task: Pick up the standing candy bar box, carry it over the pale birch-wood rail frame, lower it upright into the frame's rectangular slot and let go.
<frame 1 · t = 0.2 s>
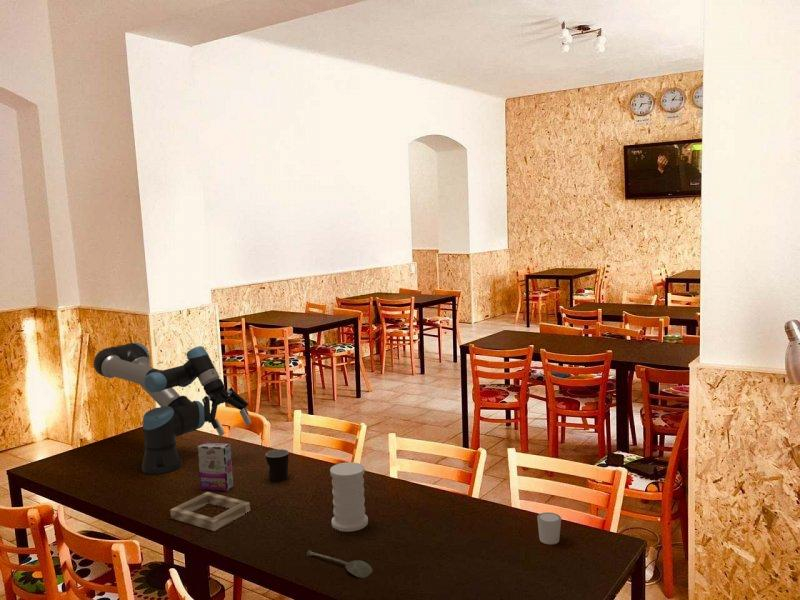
hand: (236, 429, 258), 16 cm above the table, tool tilted 35°, fingers open, 13 cm apart
soupspoon: (338, 566, 184), on the table
decorative container: (349, 523, 209), on the table
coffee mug: (279, 477, 249), on the table
shot glass: (549, 540, 194), on the table
candy bar box: (217, 488, 241), on the table
birch slot rail: (210, 514, 219), on the table
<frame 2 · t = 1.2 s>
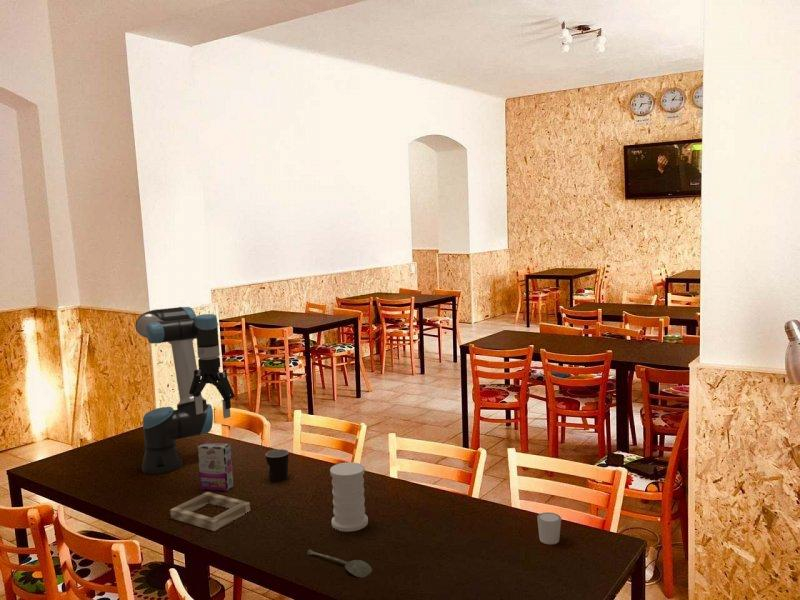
hand: (213, 415, 238), 27 cm above the table, tool pointing down, fingers open, 13 cm apart
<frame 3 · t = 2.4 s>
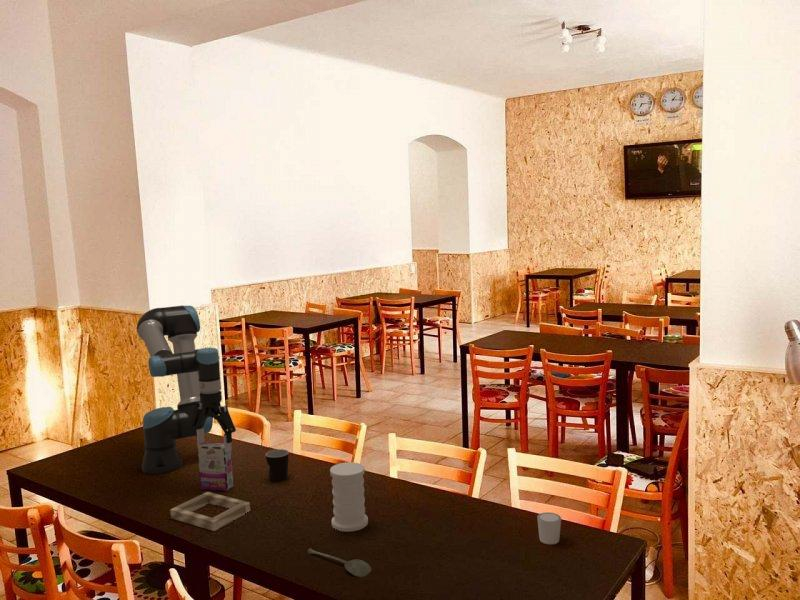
hand: (214, 448, 239), 15 cm above the table, tool pointing down, fingers open, 13 cm apart
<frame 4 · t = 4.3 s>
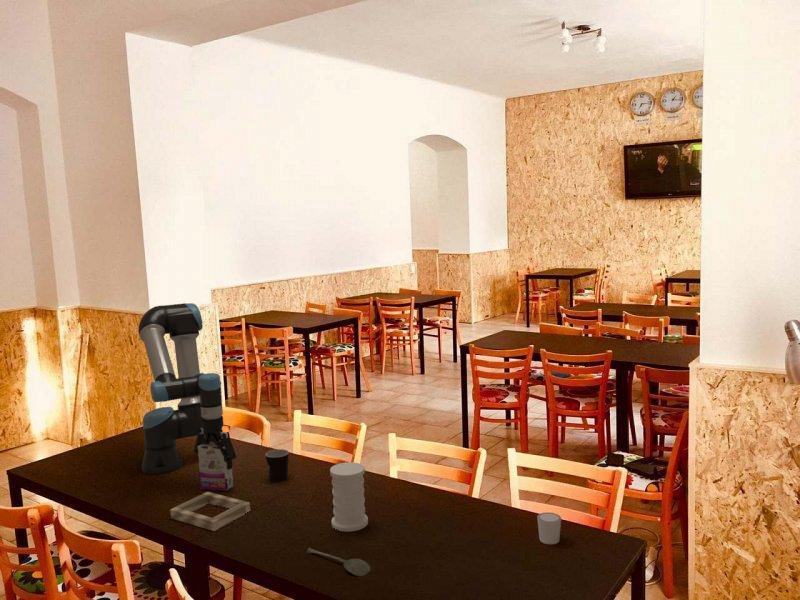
hand: (216, 474, 240), 5 cm above the table, tool pointing down, fingers closed on candy bar box, 12 cm apart
candy bar box: (217, 488, 241), on the table, touching gripper
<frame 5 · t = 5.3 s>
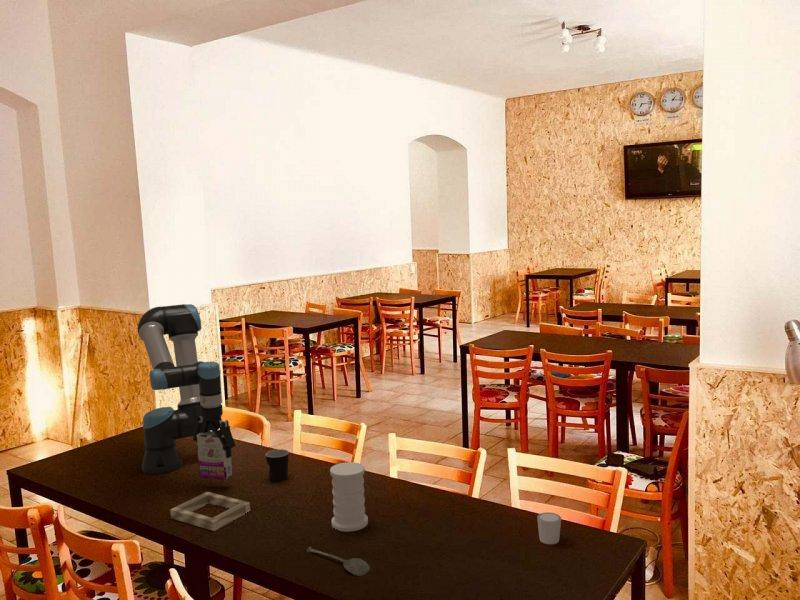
hand: (215, 462, 240), 9 cm above the table, tool pointing down, fingers closed on candy bar box, 12 cm apart
candy bar box: (216, 476, 241), point 4 cm above the table, touching gripper
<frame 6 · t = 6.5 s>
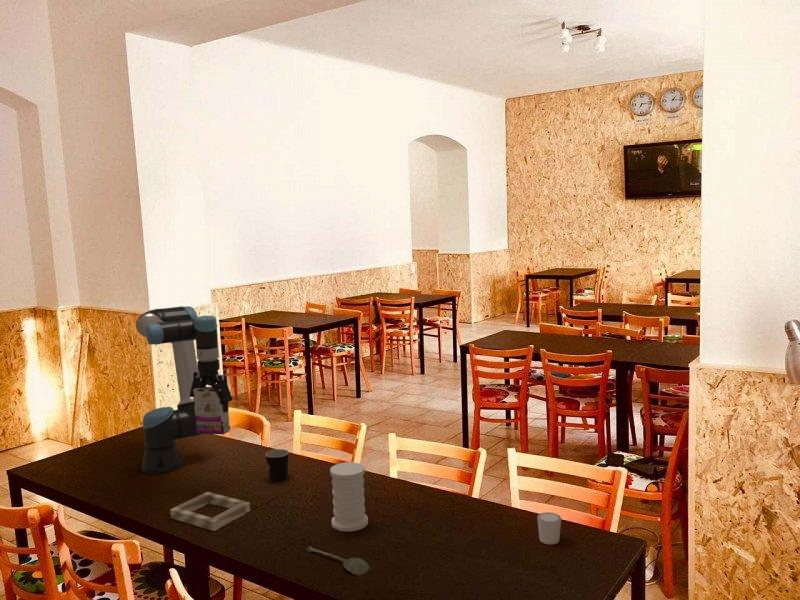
hand: (212, 418, 238), 26 cm above the table, tool pointing down, fingers closed on candy bar box, 12 cm apart
candy bar box: (213, 432, 238), point 21 cm above the table, touching gripper
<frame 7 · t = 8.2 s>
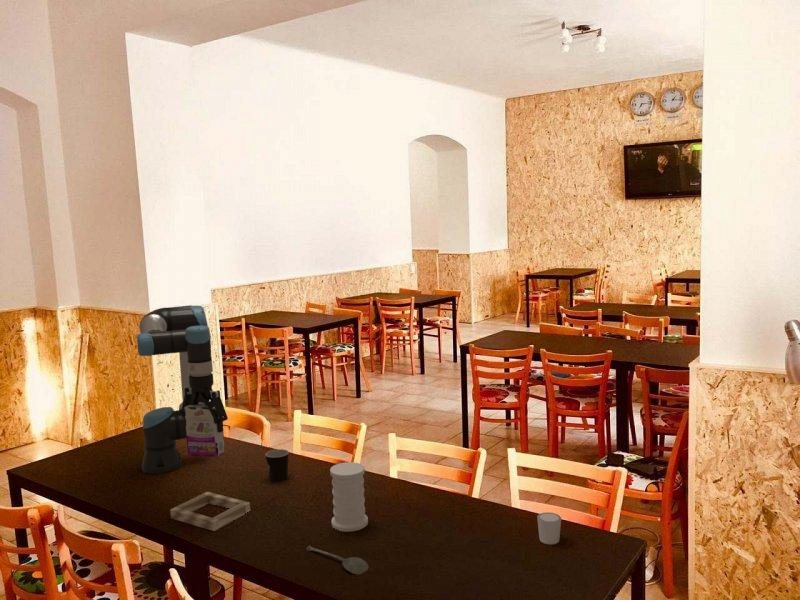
hand: (205, 439, 215), 26 cm above the table, tool pointing down, fingers closed on candy bar box, 12 cm apart
candy bar box: (206, 454, 216), point 21 cm above the table, touching gripper
when the fingers open (6 cm above the table, at t = 12.2 s): candy bar box drops 1 cm, resting in birch slot rail.
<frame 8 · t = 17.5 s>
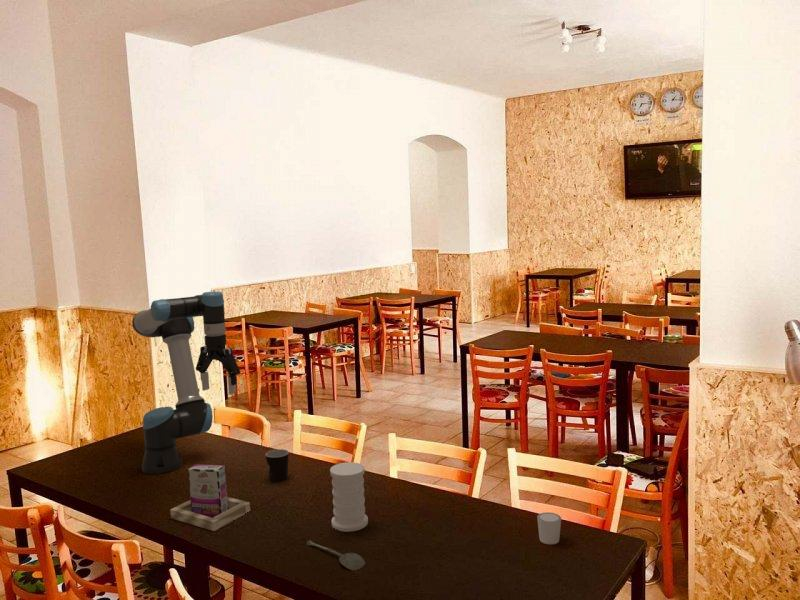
hand: (219, 391, 241), 35 cm above the table, tool pointing down, fingers open, 13 cm apart
soupspoon: (334, 557, 189), on the table
candy bar box: (210, 515, 219), resting in birch slot rail
everything else where it was.
at the end: candy bar box 0.4 cm off-centre on the birch slot rail, point 0.0 cm above the birch slot rail's base; candy bar box tilted 0°; the gripper is holding nothing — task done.
